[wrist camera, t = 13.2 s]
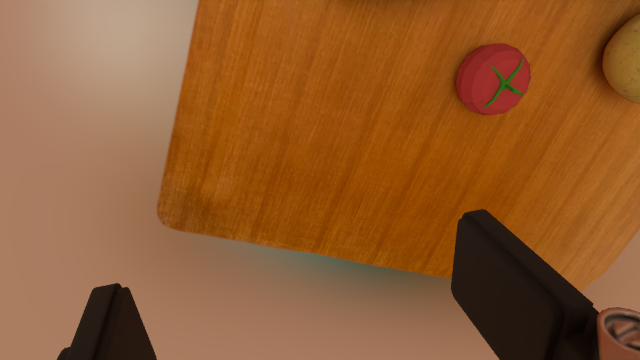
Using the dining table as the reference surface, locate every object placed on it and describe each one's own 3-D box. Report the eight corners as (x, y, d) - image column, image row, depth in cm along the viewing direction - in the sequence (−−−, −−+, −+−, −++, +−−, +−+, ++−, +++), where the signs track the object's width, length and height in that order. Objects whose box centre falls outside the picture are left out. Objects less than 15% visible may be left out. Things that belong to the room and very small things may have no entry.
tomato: (432, 74, 47) (467, 91, 41) (483, 23, 46) (528, 32, 39) (468, 117, 51) (505, 139, 44) (516, 71, 50) (562, 87, 43)
